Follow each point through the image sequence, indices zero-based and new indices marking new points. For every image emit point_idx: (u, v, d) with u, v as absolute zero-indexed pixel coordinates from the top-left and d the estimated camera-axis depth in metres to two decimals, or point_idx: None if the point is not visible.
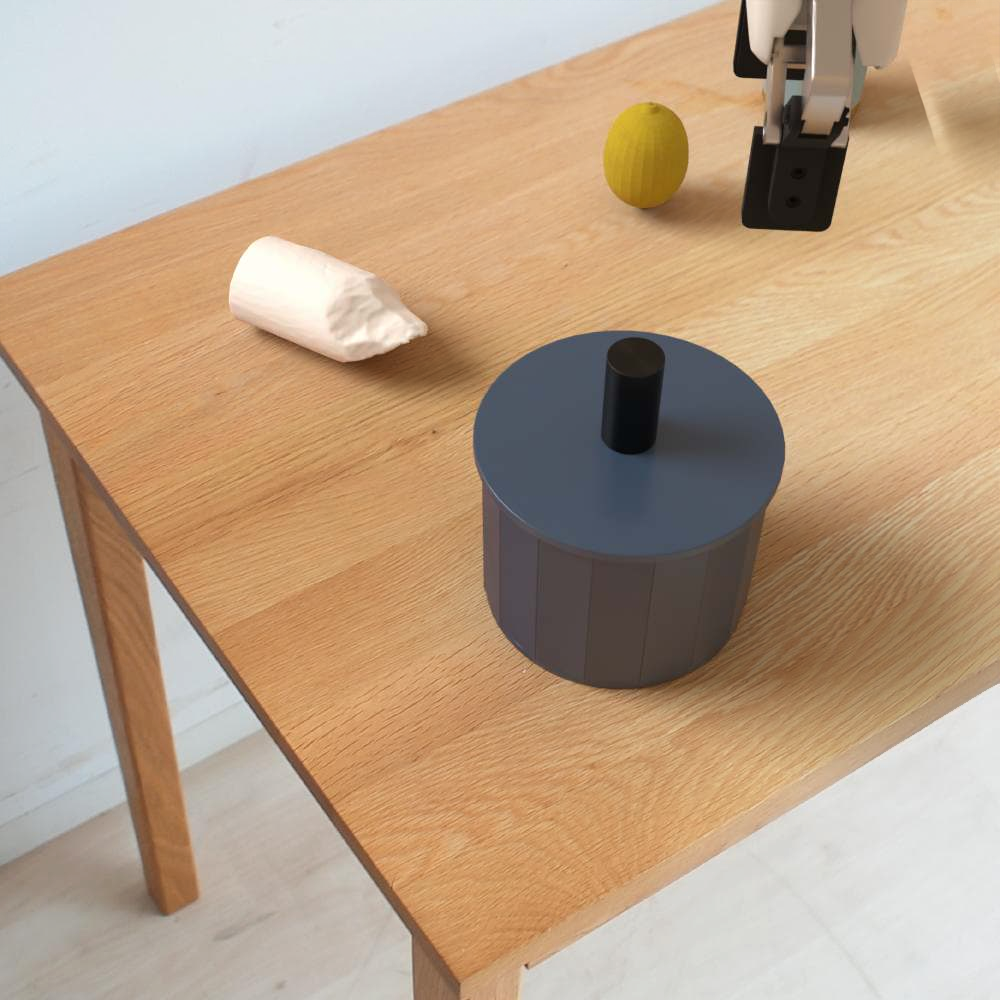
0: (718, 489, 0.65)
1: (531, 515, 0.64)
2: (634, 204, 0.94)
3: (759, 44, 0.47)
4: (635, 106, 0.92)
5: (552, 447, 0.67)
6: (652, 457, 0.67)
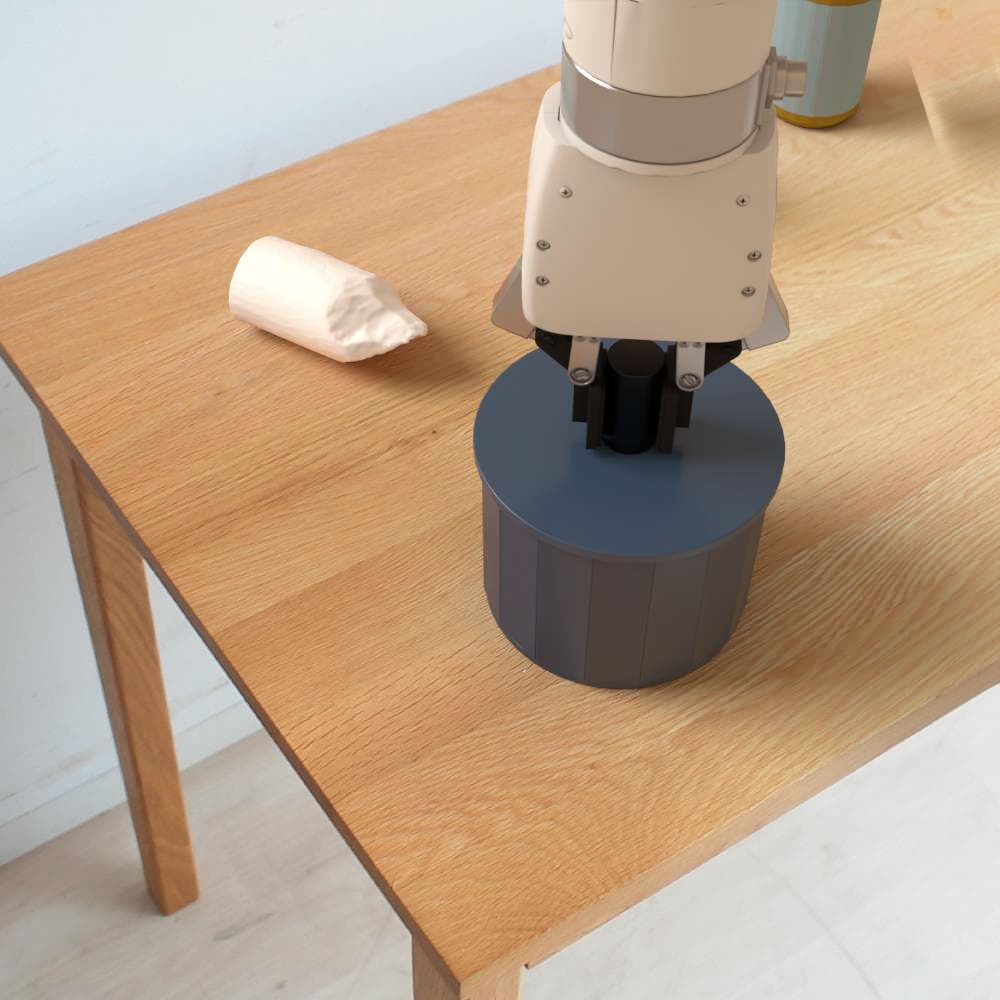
0: (718, 489, 0.65)
1: (531, 515, 0.64)
2: None
3: (754, 326, 0.60)
4: None
5: (552, 447, 0.67)
6: (652, 457, 0.67)
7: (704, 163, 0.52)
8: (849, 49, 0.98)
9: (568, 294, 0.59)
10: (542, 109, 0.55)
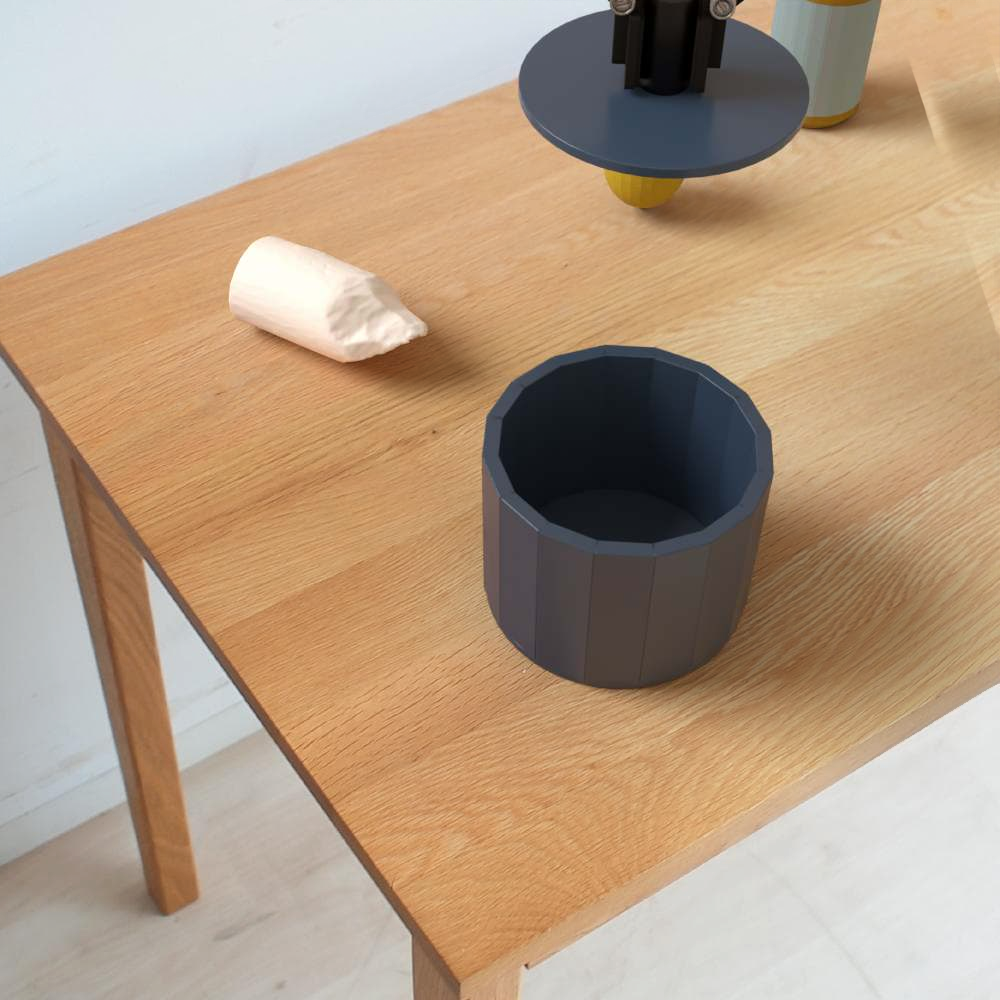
0: (748, 121, 0.70)
1: (574, 139, 0.69)
2: (634, 204, 0.94)
3: None
4: None
5: (592, 90, 0.72)
6: (686, 98, 0.72)
7: None
8: (849, 49, 0.98)
9: None
10: None
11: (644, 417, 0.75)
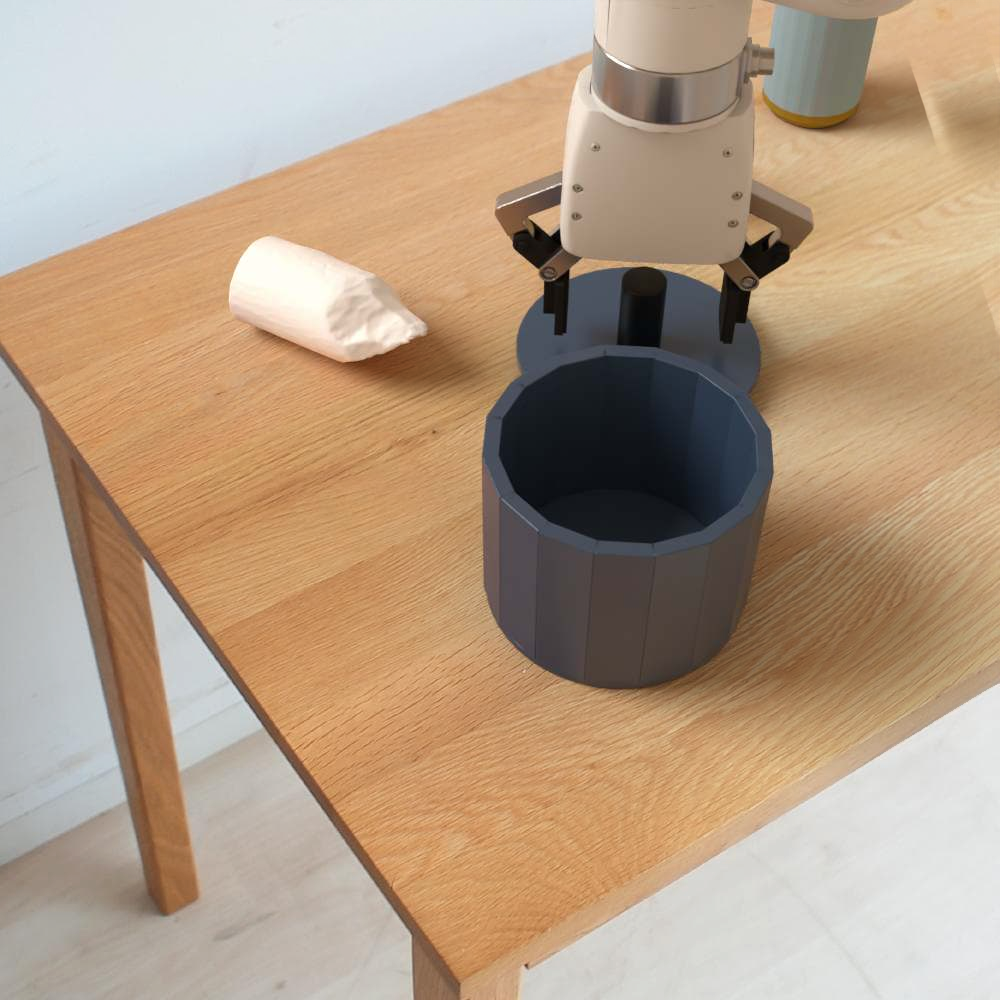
0: None
1: None
2: None
3: (738, 252, 0.78)
4: None
5: None
6: None
7: (699, 123, 0.70)
8: (849, 49, 0.98)
9: (596, 227, 0.77)
10: (577, 85, 0.74)
11: (644, 417, 0.75)
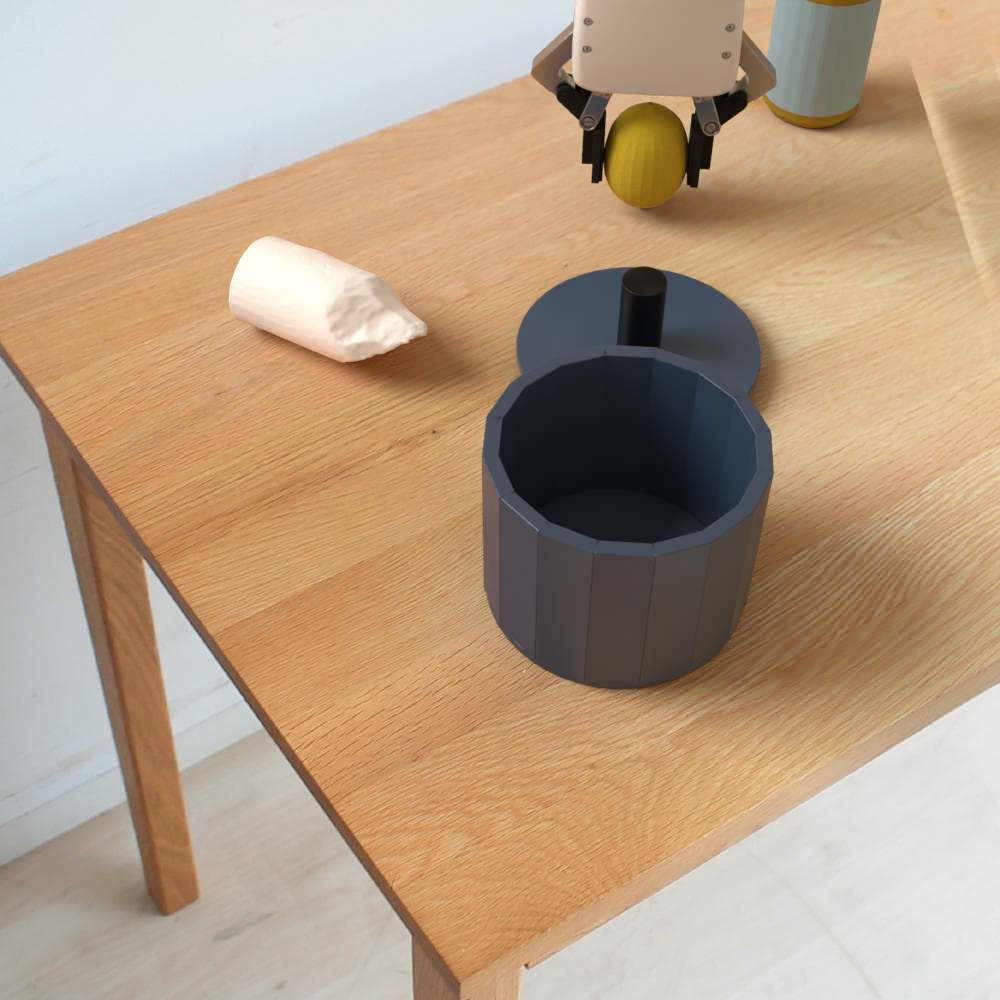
0: None
1: None
2: (634, 204, 0.94)
3: (731, 84, 0.87)
4: (635, 106, 0.92)
5: None
6: None
7: None
8: (849, 49, 0.98)
9: (604, 59, 0.86)
10: None
11: (644, 417, 0.75)
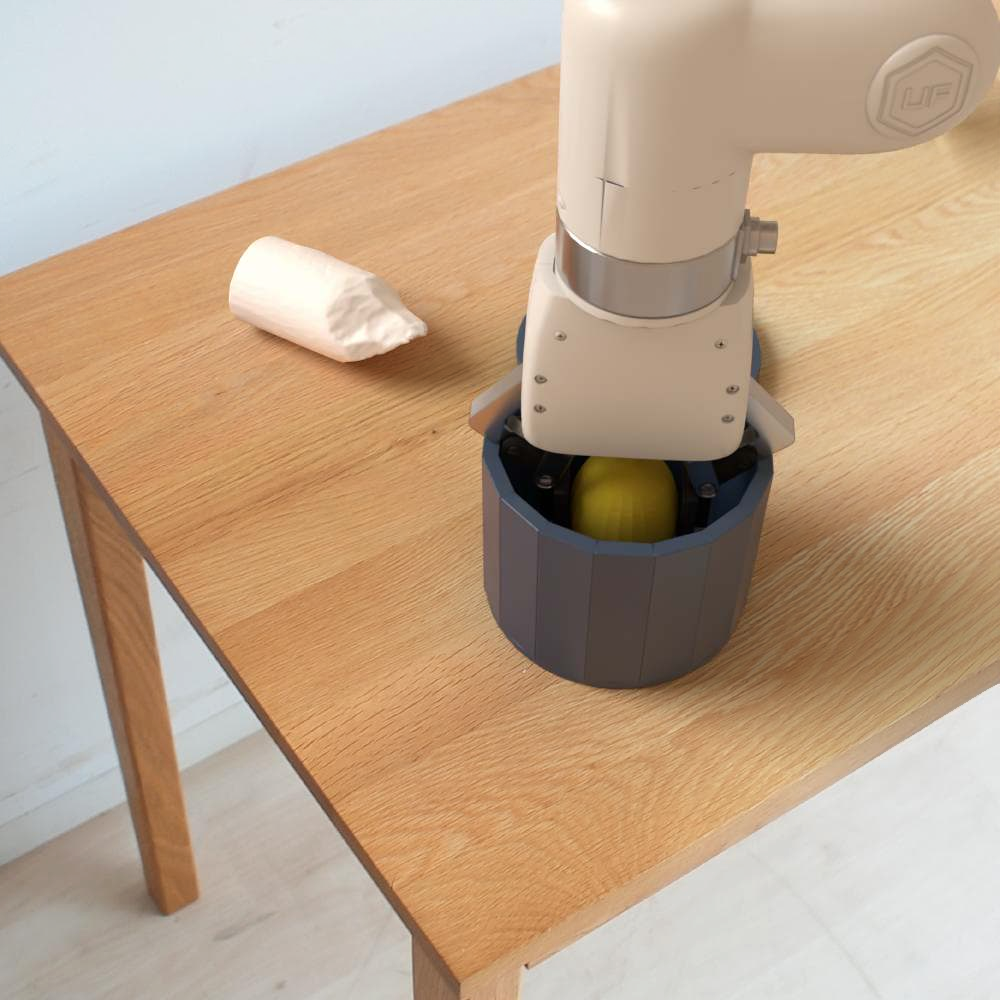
0: None
1: None
2: None
3: (734, 447, 0.65)
4: None
5: None
6: None
7: (685, 317, 0.58)
8: None
9: (563, 420, 0.64)
10: (539, 260, 0.61)
11: None
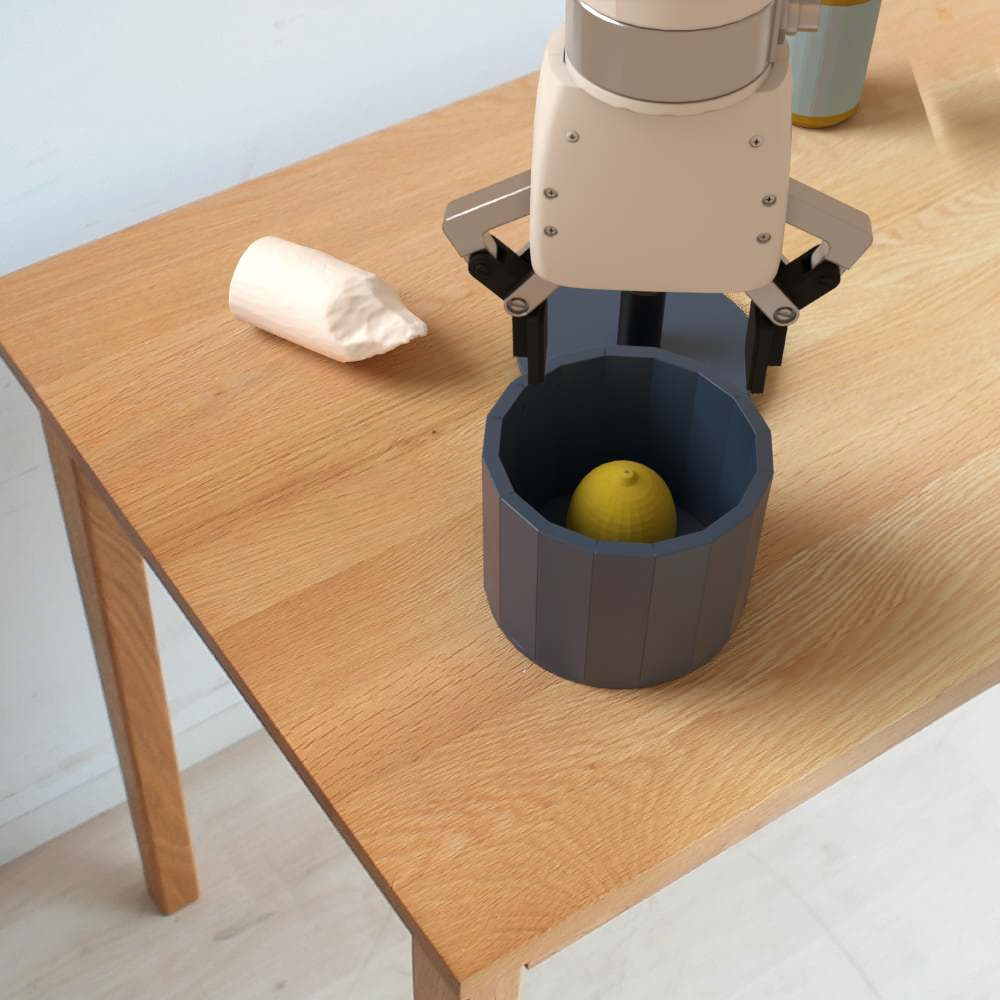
0: None
1: None
2: None
3: (770, 275, 0.58)
4: (606, 470, 0.70)
5: None
6: None
7: (716, 101, 0.50)
8: (849, 49, 0.98)
9: (577, 245, 0.57)
10: (547, 51, 0.53)
11: (644, 417, 0.75)
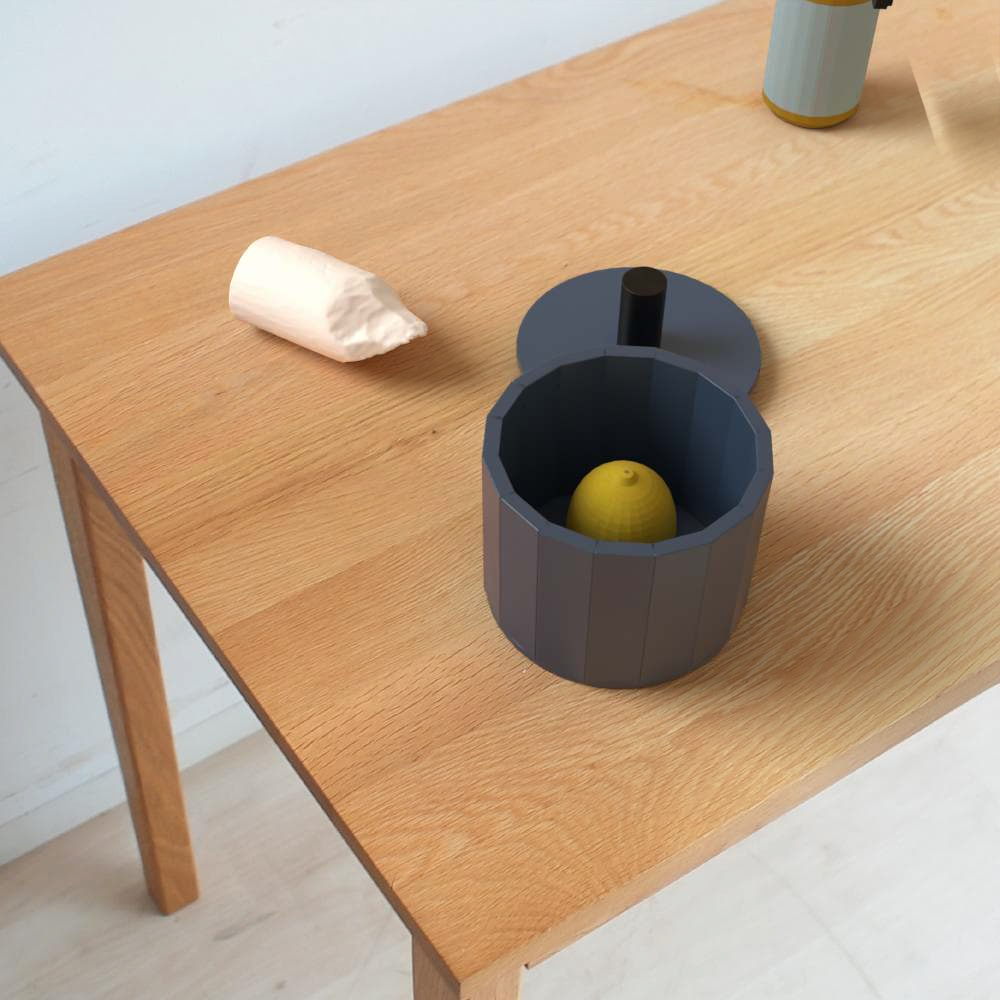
0: None
1: None
2: None
3: None
4: (606, 470, 0.70)
5: None
6: None
7: None
8: (849, 49, 0.98)
9: None
10: None
11: (644, 417, 0.75)
